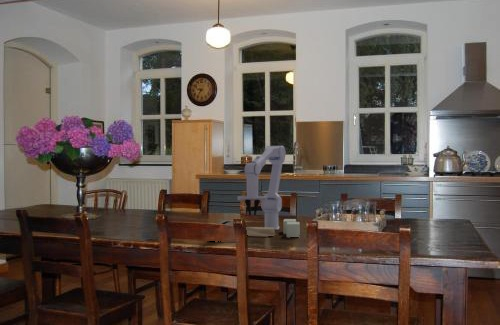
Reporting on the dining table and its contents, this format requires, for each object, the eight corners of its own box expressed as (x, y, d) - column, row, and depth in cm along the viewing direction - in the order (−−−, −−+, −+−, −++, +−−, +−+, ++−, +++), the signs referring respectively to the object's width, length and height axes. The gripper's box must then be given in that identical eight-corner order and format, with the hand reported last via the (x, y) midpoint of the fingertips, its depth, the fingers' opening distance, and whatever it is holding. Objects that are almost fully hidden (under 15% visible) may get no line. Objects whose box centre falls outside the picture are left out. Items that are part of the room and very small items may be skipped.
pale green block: (284, 231, 248) (284, 218, 247) (295, 231, 247) (295, 219, 247) (283, 233, 240) (283, 221, 239) (295, 234, 239) (295, 221, 239)
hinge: (223, 236, 233) (229, 217, 231) (231, 240, 231) (238, 221, 230) (206, 242, 217) (213, 221, 216) (215, 246, 216) (222, 225, 214)
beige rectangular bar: (246, 235, 238) (246, 226, 238) (274, 235, 236) (274, 227, 236) (245, 236, 234) (245, 228, 234) (273, 237, 232) (273, 228, 232)
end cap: (287, 234, 237) (287, 221, 237) (299, 234, 237) (299, 221, 237) (286, 237, 229) (286, 224, 229) (299, 237, 229) (299, 224, 229)
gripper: (236, 188, 235) (236, 216, 235) (266, 188, 233) (266, 216, 233) (238, 187, 242) (238, 214, 242) (267, 187, 240) (267, 214, 240)
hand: (252, 215), depth 238 cm, fingers closed
